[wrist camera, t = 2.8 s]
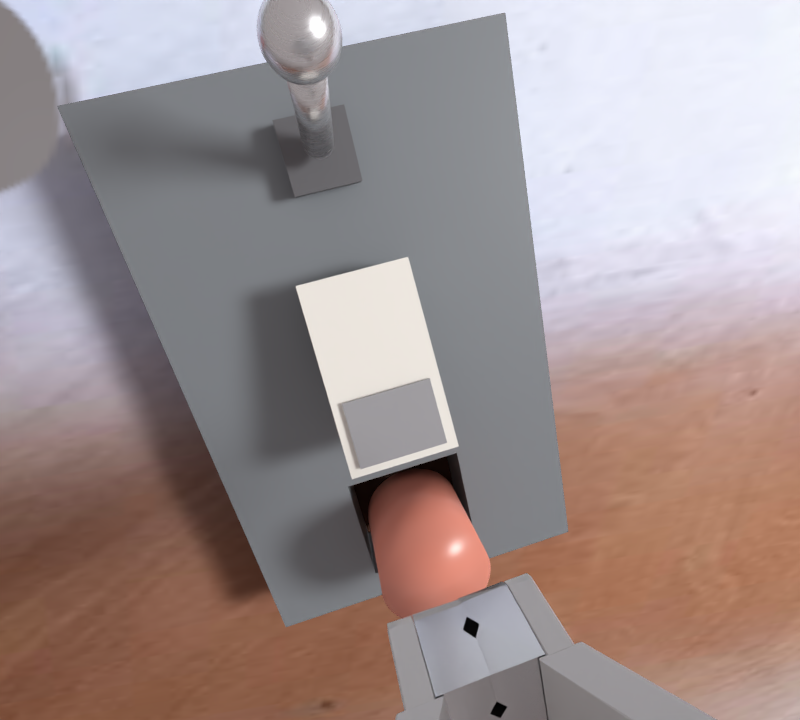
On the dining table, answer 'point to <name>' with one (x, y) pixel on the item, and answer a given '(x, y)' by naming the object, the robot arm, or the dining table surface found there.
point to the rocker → (378, 366)
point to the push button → (424, 543)
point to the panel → (329, 256)
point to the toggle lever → (304, 62)
